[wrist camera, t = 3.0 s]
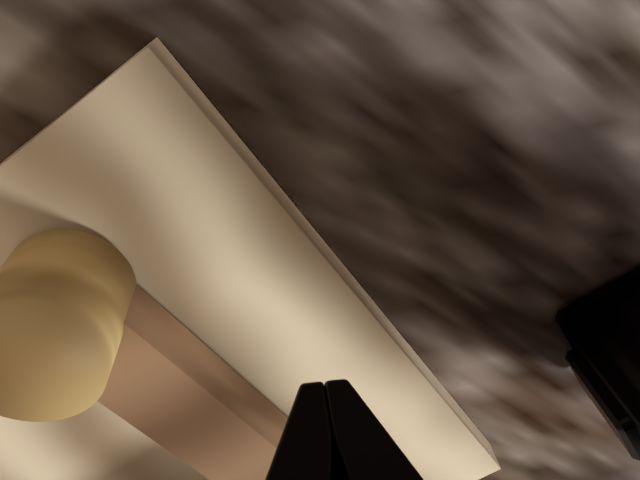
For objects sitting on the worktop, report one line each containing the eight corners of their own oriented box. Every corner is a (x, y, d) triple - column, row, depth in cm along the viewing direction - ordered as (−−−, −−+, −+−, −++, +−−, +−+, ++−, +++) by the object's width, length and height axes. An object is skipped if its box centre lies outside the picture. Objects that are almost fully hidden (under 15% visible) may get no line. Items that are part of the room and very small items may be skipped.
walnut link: (379, 480, 24) (399, 570, 21) (302, 519, 25) (309, 611, 22) (73, 202, 16) (22, 277, 12) (-26, 276, 17) (-99, 366, 13)
